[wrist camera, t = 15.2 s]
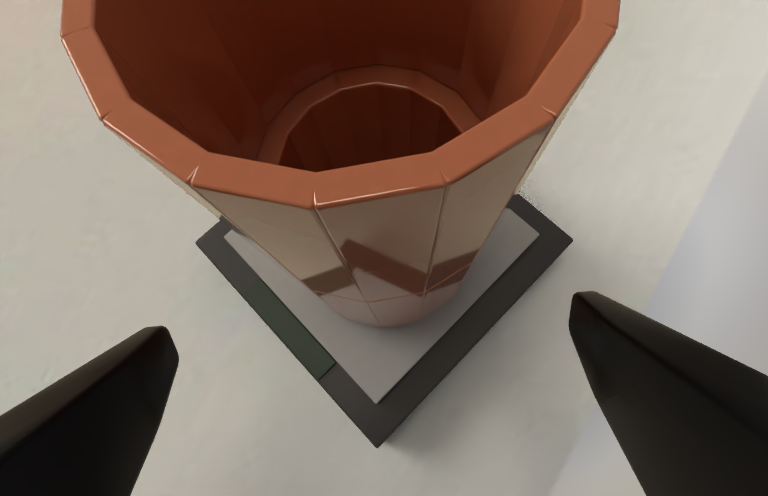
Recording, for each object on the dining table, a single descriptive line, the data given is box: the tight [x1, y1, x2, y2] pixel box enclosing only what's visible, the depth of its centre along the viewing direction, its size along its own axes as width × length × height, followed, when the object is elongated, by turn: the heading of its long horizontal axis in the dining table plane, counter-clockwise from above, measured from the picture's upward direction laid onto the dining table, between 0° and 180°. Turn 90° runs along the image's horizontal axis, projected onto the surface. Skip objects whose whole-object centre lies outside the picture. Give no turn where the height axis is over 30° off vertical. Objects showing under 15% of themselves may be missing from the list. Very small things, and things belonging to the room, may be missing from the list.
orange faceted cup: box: [60, 0, 620, 328], centre depth 12 cm, size 7×7×13 cm
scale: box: [195, 194, 573, 448], centre depth 19 cm, size 12×12×3 cm
